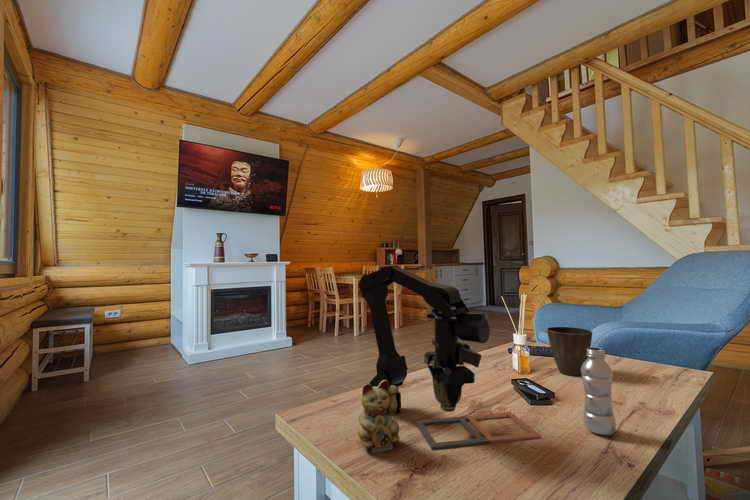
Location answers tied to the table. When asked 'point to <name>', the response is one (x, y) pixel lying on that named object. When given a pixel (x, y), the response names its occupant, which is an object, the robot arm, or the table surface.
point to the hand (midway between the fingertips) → (447, 401)
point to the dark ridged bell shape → (442, 393)
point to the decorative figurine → (378, 417)
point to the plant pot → (569, 348)
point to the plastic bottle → (598, 393)
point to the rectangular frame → (473, 432)
